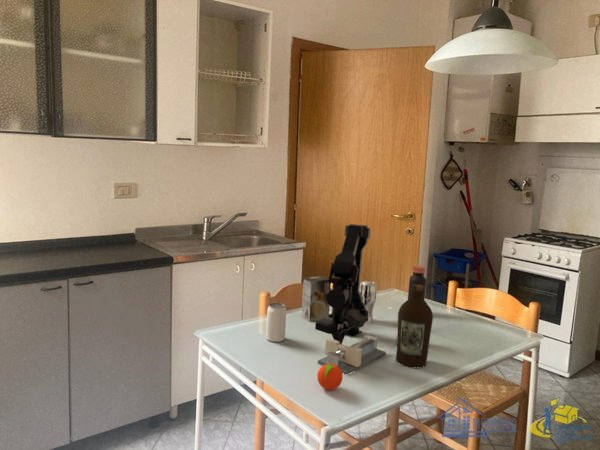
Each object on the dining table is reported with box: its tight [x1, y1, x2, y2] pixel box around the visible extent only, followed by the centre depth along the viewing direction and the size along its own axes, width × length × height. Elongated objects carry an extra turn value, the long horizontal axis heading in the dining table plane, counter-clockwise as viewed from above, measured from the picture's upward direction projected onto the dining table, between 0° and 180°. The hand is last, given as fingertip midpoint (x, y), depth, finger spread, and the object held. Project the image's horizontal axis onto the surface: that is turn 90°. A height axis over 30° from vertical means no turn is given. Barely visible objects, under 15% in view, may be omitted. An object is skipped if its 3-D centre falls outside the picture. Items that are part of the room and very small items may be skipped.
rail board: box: [317, 343, 387, 375], centre depth 156 cm, size 22×11×1 cm, turn 140°
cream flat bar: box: [324, 337, 362, 367], centre depth 151 cm, size 2×12×5 cm, turn 50°
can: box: [265, 302, 287, 343], centre depth 169 cm, size 6×6×12 cm
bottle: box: [407, 265, 427, 301], centre depth 205 cm, size 7×7×20 cm
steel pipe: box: [326, 335, 379, 367], centre depth 156 cm, size 22×4×4 cm, turn 140°
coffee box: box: [301, 275, 332, 322], centre depth 193 cm, size 9×6×16 cm
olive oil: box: [395, 284, 434, 369], centre depth 155 cm, size 11×11×25 cm
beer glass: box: [359, 280, 378, 324], centre depth 193 cm, size 7×7×15 cm
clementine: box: [316, 363, 343, 391], centre depth 135 cm, size 8×7×7 cm
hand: (338, 346), depth 157 cm, fingers closed
